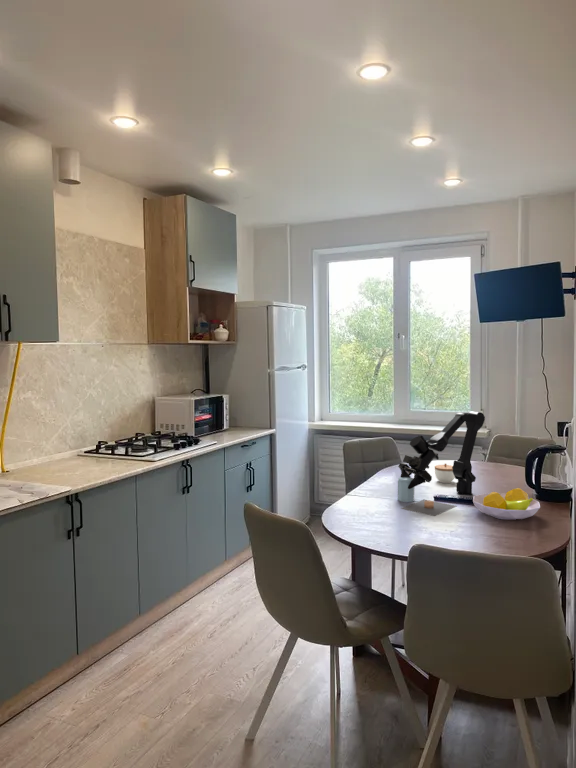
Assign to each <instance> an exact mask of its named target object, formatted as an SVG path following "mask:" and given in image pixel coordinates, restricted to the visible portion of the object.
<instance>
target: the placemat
mask: <svg viewBox="0 0 576 768" xmlns="http://www.w3.org/2000/svg"><path fill="white" fill-rule="evenodd" d="M426 500H427V499H421V500H419V501H416V502H414V503H411V504H408V505H406V506H403V507H401V508H400V509H401V510H405V511H409V512H414V513H419V514H423V515H427V516H432V517H436V516H438V515H440V514H442V513H445V512H447V511H449V510H451V509H454V508H456V507H457V505H453V504H448V503H443V502H438V501H434V508H432V509H428V508H425V507H424V501H426Z"/></svg>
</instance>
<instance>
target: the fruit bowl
mask: <svg viewBox="0 0 576 768" xmlns="http://www.w3.org/2000/svg"><path fill="white" fill-rule="evenodd" d="M472 502H473V505H474V506H475V508H476V509H477V510H479V511H480V512H481V513H483V514H486V515H488V516H491V517H493V518H496V519H498V520H516V519H521V520H524V519H526V518H530V517H533V516H534V515H535V514H536V513H538V511H539V510H540V508H541V505H540V502H539V501H538V500H536V499H533V498H532V497H530V498H529V495H528V493H527V492H526V491H524V490H523V489H521V488H520V487H517V488H512V489H511V490H508V491H507V492H506V493H500V492H497V491H492V492H490V493H489V492H488V493H487V492H486V493H482V494H481V493H480V494H476V495H473V498H472Z"/></svg>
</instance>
